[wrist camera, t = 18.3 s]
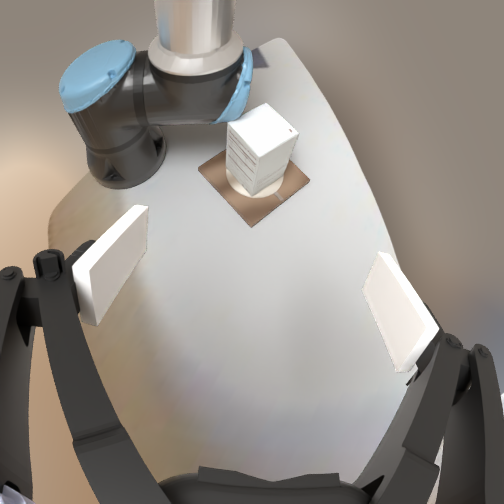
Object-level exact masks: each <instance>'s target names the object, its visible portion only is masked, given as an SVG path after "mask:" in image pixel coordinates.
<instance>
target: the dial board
mask: <svg viewBox="0 0 504 504" xmlns="http://www.w3.org/2000/svg"><path fill="white" fill-rule="evenodd" d="M198 171H199V172H200V173H201V174H202V175H203V176H204V177H205V178H206V179H207V180H208V182H209V183H210V184H211V185H212V186H213V187H214V188H215V189H216V190H217V191H218V192H219V193H220V194H221V196H222V197H223V198H224V199H225V200H226V201H227V202H228V203H229V204H230V205H231V206H232V207H233V209H234V210H235V211H236V212H237V213H238V214H239V215H240V216H241V217H242V218H243V219H244V221H245V222H246V223H247V224H248V225H249V226H250V227H253V226H254V225H255V224H256V223H258V222H259V221H260V220H261V219H263V218H264V217H265V216H266V215H268V214H269V213H270V212H271V211H273V210H274V209H275V208H277V207H278V206H279V205H280V204H282V203H283V202H284V201H285V200H287V199H288V198H289V197H291V196H292V195H293V194H294V193H296V192H297V191H298V190H299V189H301V188H302V187H303V186H305V185H306V184H307V183H308V182H309V181H310V179H309V178H308V177H307V176H306V175H305V174H304V173H303V172H302V171H301V170H300V169H299V168H298V167H297V166H296V165H295V164H294V163H293V162H292V161H291V160H290V159H289V161H288V164H287V167H286V169H285V172H284V174H283V176H282V177H280V178H279V179H277V180H276V181H274V182H273V183H272V184H270V185H269V186H267V187H266V188H264V189H263V190H261V191H260V192H258V193H257V194H255V195H254V196H252V197H251V196H250V194H249V193H248V192H247V191H246V190H245V189H244V188H243V186H242V185H241V184H240V183H239V182H238V181H237V180H236V178H235V177H234V176H233V175H232V174H231V173H230V172H229V170H228V169H227V168H226V150H224V151H222V152H221V153H219V154H218V155H216V156H215V157H213V158H212V159H210V160H209V161H207V162H206V163H204V164H203V165H201V166H200V167H198Z"/></svg>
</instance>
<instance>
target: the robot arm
mask: <svg viewBox="0 0 504 504" xmlns="http://www.w3.org/2000/svg"><path fill="white" fill-rule="evenodd" d="M154 3H155V12H156V21H157V29H158V36H156V38H154V39H153V41H152V42H151V44H150V46H149V49H148V50H147V51H138V52H136V48H135V47H134V46H133V45H132V43H130V42H129V41H124V40H112V41H108V42H105V43H102V44H100V45H97V46H95V47H93V48H91V49H89V50H88V51H86V52H85V53H83V54H82V55H81V56H79V57H78V58H77V59H76V60H74V61H73V62H72V63H71V65H70V66H69V67H68V68H67V69H66V71H65V72H64V74H63V76H62V78H61V80H60V84H59V93H60V96H61V99H62V102H63V104H64V109H65V110H66V111H67V112H68V114H69V116H70V117H71V119H72V121H73V123H74V125H75V126H76V128H77V130H78V132H79V134H80V135H81V137H82V139H83V141H84V142H85V144H86V151H87V163H88V167H89V169H90V172H91V173H92V175H93V176H94V178H95V179H96V180H97V181H98V182H99V183H100V184H101V185H103V186H105V187H108V188H112V189H126V188H130V187H133V186H136V185H138V184H140V183H142V182H144V181H146V180H147V179H148V178H150V177H151V176H152V175H153V174H154V173H155V172H156V171H157V170H158V168H159V167H160V165H161V164H162V162H163V159H164V157H165V152H166V144H165V140H164V135H163V133H162V131H161V129H160V127H159V126H163V125H183V124H215V123H221V122H229V121H233V120H236V119H238V118H239V117H240V116H241V114H242V113H243V111H244V109H245V106H246V103H247V100H248V97H249V92H250V83H251V80H252V73H253V58H252V52H251V50H250V49H249V48H247V47H244V46H243V41H242V39H241V37H240V36H239V35H238V33H237V32H235V31H234V30H233V21H234V12H235V4H236V0H154ZM147 223H148V206H143V205H137V204H136V205H134V206H133V207H132V208H131V209H130V210H129V211H128V212H127V213H126V214H124V215H123V216H122V217H121V218H120V219H119V220H118V221H117V222H116V223H115V224H114V225H113V226H112V227H111V228H109V229H108V230H107V231H106V232H105V233H104V234H103V235H102V236H101V237H100V238H99V239H98V240H97V241H94V240H89V241H87V242H85V243H83V244H82V245H81V246H79V247H78V248H77V249H76V250H75V251H74V252H73V253H72V255H70V256H69V257H68V258H67V259H66V260H65V259H64V254H63V253H62V252H61V251H59V250H56V249H48V250H44V251H41V252H39V253H38V254H37V255H35V257H34V259H33V264H34V269H35V274H36V278H25V277H24V276H23V272H22V270H21V268H19V267H15V266H11V267H6V268H4V269H2V270H1V271H0V504H35V503H34V502H33V501H32V493H33V491H32V489H33V486H32V472H31V462H30V450H29V425H28V407H29V381H30V369H31V358H32V349H33V341H34V334H35V328H36V326H37V327H43V332H44V337H45V343H46V348H47V352H48V357H49V362H50V366H51V370H52V374H53V378H54V382H55V385H56V389H57V392H58V396H59V399H60V403H61V406H62V409H63V411H64V415H65V418H66V420H67V424H68V426H69V429H70V432H71V435H72V438H73V447H74V450H75V453H76V455H77V458H78V460H79V462H80V465H81V467H82V469H83V471H84V473H85V476H86V478H87V480H88V482H89V484H90V486H91V488H92V490H93V492H94V494H95V495H96V498H97V499H98V501H99V503H100V504H427V502H428V499H429V497H430V495H431V492H432V490H433V487H434V485H435V483H436V480H437V477H438V475H439V471H440V468H439V466H437V465H436V464H434V462H435V459H436V456H437V453H438V450H439V447H440V444H441V441H442V438H443V435H444V444H443V455H442V465H441V473H440V480H439V487H438V493H437V498H436V503H435V504H504V415H503V408H502V402H501V396H500V390H499V385H498V380H497V375H496V370H495V366H494V362H493V358H492V355H491V353H490V351H489V349H488V348H486V347H485V346H483V345H481V344H475V345H474V347H473V348H472V350H471V351H469V350H466V349H463V345H462V343H461V342H460V341H459V340H458V338H456V337H455V336H454V335H451V334H448V333H444V331H443V329H442V328H441V326H440V324H439V323H438V321H437V320H436V319H435V317H434V315H433V313H432V312H431V310H430V309H429V307H428V306H427V305H426V304H425V303H424V302H423V301H422V300H421V299H420V298H419V296H418V295H417V293H416V292H415V290H414V289H413V287H412V286H411V284H410V283H409V281H408V280H407V278H406V277H405V276H404V274H403V273H402V271H401V270H400V269H399V267H398V266H397V264H396V263H395V262H394V260H393V259H392V257H391V256H390V255H389V254H387V253H382V252H378V253H377V256H376V258H375V261H374V263H373V265H372V268H371V270H370V272H369V275H368V277H367V279H366V282H365V284H364V286H363V288H362V292H363V294H364V297H365V299H366V301H367V303H368V305H369V308H370V310H371V312H372V314H373V317H374V319H375V321H376V324H377V326H378V328H379V330H380V333H381V335H382V338H383V340H384V342H385V345H386V347H387V350H388V352H389V355H390V357H391V360H392V362H393V365H394V367H395V370H396V372H409V371H410V370H411V369H412V367H413V366H414V365H415V363H416V365H417V367H418V370H417V371H416V373H415V374H414V375H413V376H412V378H411V379H410V380H409V381H408V383H407V384H406V385H407V386H408V385H409V384H410V385H409V387H408V389H407V392H406V394H405V396H404V398H403V400H402V402H401V404H400V406H399V409H398V411H397V413H396V415H395V417H394V418H393V420H392V422H391V424H390V426H389V428H388V430H387V432H386V433H385V435H384V437H383V439H382V441H381V442H380V444H379V446H378V448H377V449H376V451H375V453H374V454H373V456H372V458H371V459H370V461H369V462H368V464H367V466H366V467H365V469H364V470H363V472H362V473H361V475H360V476H359V478H358V479H357V480H356V481H355V482H354V483H353V484H349V483H346V482H343V481H340V480H339V473H331V474H307V475H303V476H299V477H295V478H290V479H286V480H281V481H276V482H270V481H266V480H263V479H259V478H256V477H252V476H249V475H246V474H243V473H240V472H236V471H230V470H221V469H214V468H207V467H201V466H199V470H198V473H189V474H182V475H178V476H174V477H171V478H168V479H165V480H163V481H161V482H159V483H157V482H156V480H155V479H154V477H153V476H152V474H151V473H150V471H149V469H148V468H147V466H146V465H145V463H144V461H143V460H142V458H141V456H140V455H139V453H138V451H137V449H136V448H135V446H134V444H133V442H132V440H131V439H130V437H129V435H128V433H127V431H126V430H125V428H124V427H123V426H122V424H121V423H120V421H119V419H118V417H117V415H116V413H115V410H114V408H113V406H112V404H111V402H110V400H109V398H108V395H107V393H106V391H105V388H104V386H103V384H102V381H101V379H100V377H99V374H98V372H97V369H96V367H95V364H94V361H93V359H92V356H91V353H90V351H89V348H88V345H87V342H86V339H85V336H84V333H83V330H82V327H81V324H80V321H79V318H78V313H79V312H80V315H81V319H82V322H84V323H88V324H91V325H94V326H98V325H99V323H100V321H101V320H102V318H103V316H104V315H105V313H106V311H107V310H108V308H109V307H110V305H111V303H112V302H113V300H114V299H115V297H116V296H117V294H118V293H119V291H120V289H121V288H122V286H123V285H124V283H125V282H126V280H127V279H128V277H129V276H130V274H131V273H132V271H133V270H134V268H135V267H136V265H137V264H138V262H139V261H140V259H141V258H142V257H143V255H144V254H145V252H146V251H147ZM470 386H471V387H470ZM469 387H470V389H469Z"/></svg>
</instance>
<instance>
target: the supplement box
mask: <svg viewBox="0 0 504 504" xmlns="http://www.w3.org/2000/svg"><path fill="white" fill-rule="evenodd" d="M298 136H299V133H298V132H297V131H296V130H295V129H294V128H293V127H292V126H291V125H290V124H289V123H288V122H287V121H286V120H285V119H284V118H283V117H282V116H280V115H279V114H278V113H277V112H276V111H275V110H274V109H273V108H272V107H271V106H270V105H268V104H267V103H264V104H262V105H260V106H258V107H256V108H254V109H252V110H250V111H248V112H246V113H245V114H243V115H241V116H240V117H239V118H238V119H236V120H233V121H229V122H228V123H227V146H226V168H227V169H228V170H229V172H230V173H231V174H232V175H233V176H234V177H235V178H236V180H237V181H238V182H239V183H240V184H241V185H242V186H243V188H244V189H245V190H246V191H247V192H248V193H249V194H250V196H251V197H252V196H254V195H255V194H257V193H258V192H260V191H261V190H263V189H264V188H266V187H267V186H269V185H270V184H272V183H273V182H274V181H276V180H277V179H279V178H280V177H282V176H283V174H284V172H285V169H286V167H287V164H288V161H289V159H290V156H291V154H292V151H293V148H294V146H295V143H296V141H297V138H298Z"/></svg>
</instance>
